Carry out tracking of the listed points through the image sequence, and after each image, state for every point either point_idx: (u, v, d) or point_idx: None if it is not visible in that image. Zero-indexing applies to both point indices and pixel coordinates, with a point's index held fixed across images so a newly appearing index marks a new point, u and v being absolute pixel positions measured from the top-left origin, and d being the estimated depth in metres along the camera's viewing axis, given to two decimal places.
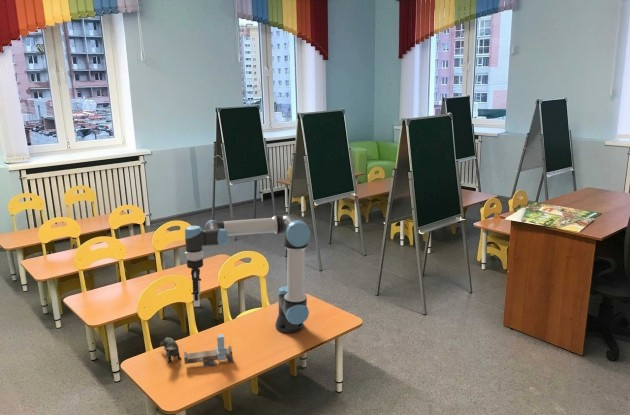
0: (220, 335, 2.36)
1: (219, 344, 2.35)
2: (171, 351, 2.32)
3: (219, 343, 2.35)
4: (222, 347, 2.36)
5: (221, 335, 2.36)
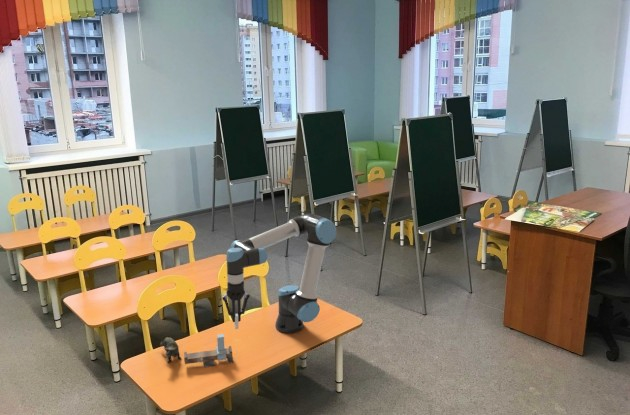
0: (220, 335, 2.36)
1: (219, 344, 2.35)
2: (171, 351, 2.32)
3: (219, 343, 2.35)
4: (222, 347, 2.36)
5: (221, 335, 2.36)
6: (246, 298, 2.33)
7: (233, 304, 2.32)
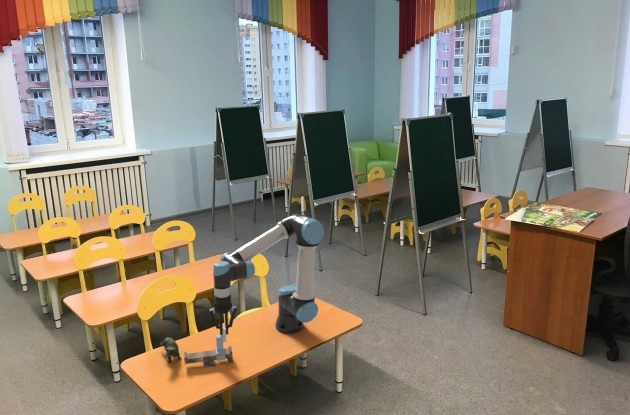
0: (219, 335, 2.36)
1: (218, 344, 2.35)
2: (171, 351, 2.32)
3: (218, 343, 2.35)
4: (221, 347, 2.35)
5: (220, 335, 2.36)
6: (233, 311, 2.33)
7: (220, 317, 2.32)
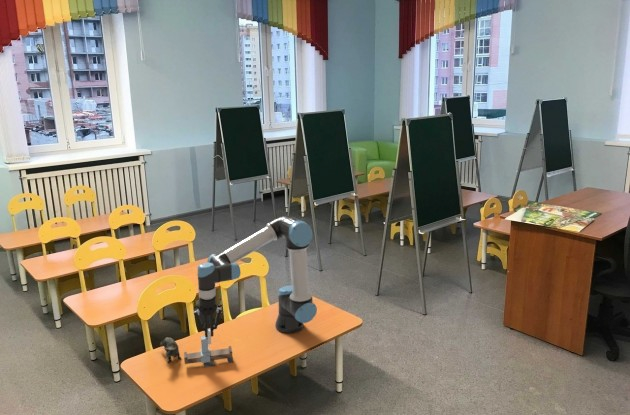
0: (204, 337, 2.34)
1: (203, 346, 2.33)
2: (171, 351, 2.32)
3: (203, 345, 2.33)
4: (206, 349, 2.34)
5: (205, 337, 2.34)
6: (218, 313, 2.31)
7: (205, 319, 2.30)
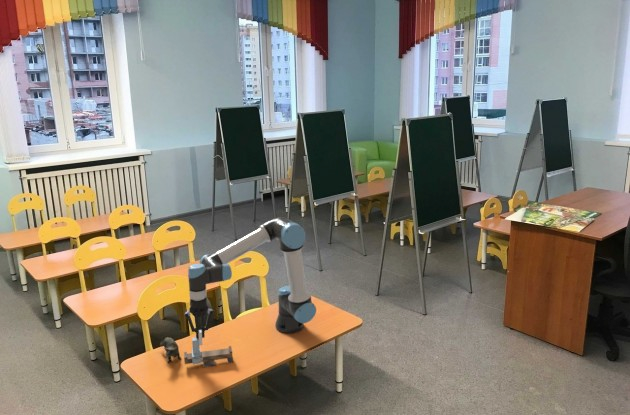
0: (195, 338, 2.33)
1: (194, 347, 2.32)
2: (171, 351, 2.32)
3: (194, 346, 2.32)
4: (197, 350, 2.33)
5: (196, 338, 2.33)
6: (209, 314, 2.30)
7: (196, 320, 2.29)
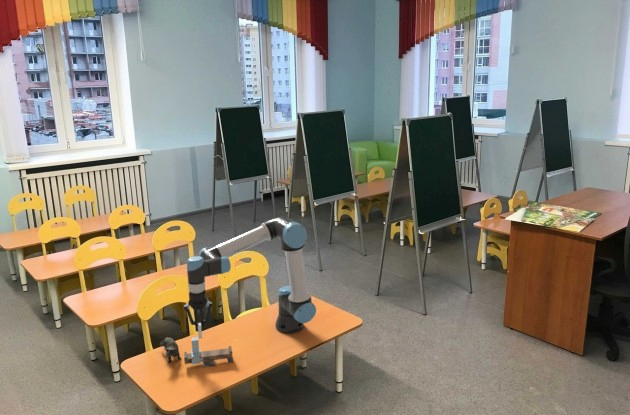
0: (195, 338, 2.33)
1: (193, 347, 2.32)
2: (171, 351, 2.32)
3: (194, 346, 2.32)
4: (197, 350, 2.33)
5: (196, 338, 2.33)
6: (209, 307, 2.29)
7: (195, 313, 2.28)
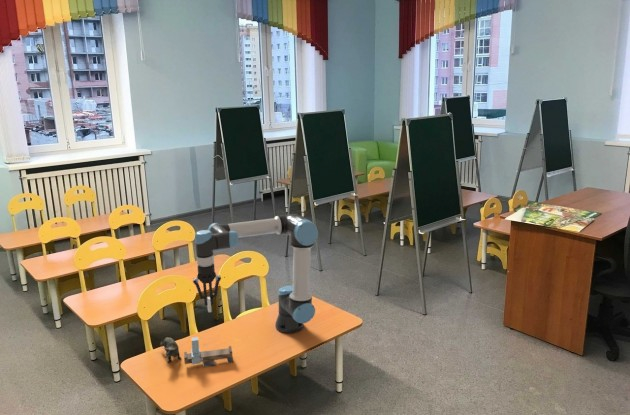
0: (195, 338, 2.33)
1: (193, 347, 2.32)
2: (171, 351, 2.32)
3: (194, 346, 2.32)
4: (197, 350, 2.33)
5: (196, 338, 2.33)
6: (217, 281, 2.31)
7: (204, 287, 2.30)
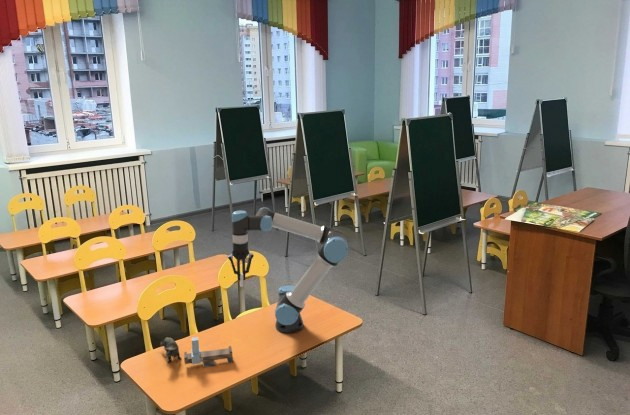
0: (195, 338, 2.33)
1: (193, 347, 2.32)
2: (171, 351, 2.32)
3: (194, 346, 2.32)
4: (197, 350, 2.33)
5: (196, 338, 2.33)
6: (250, 258, 2.50)
7: (238, 263, 2.49)
